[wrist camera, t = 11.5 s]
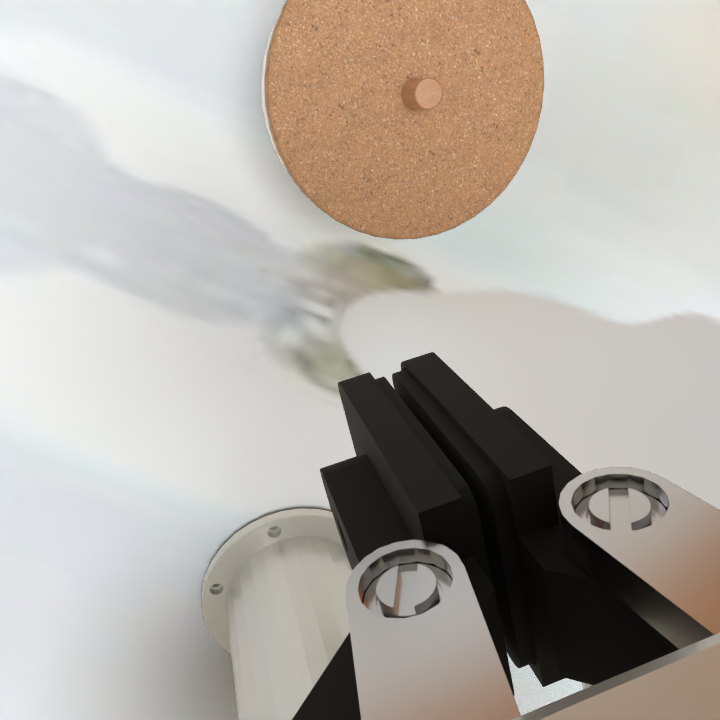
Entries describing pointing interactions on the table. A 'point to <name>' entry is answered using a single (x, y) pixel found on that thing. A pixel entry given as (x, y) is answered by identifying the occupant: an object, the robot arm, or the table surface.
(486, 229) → the table surface
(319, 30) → the lidded bowl
